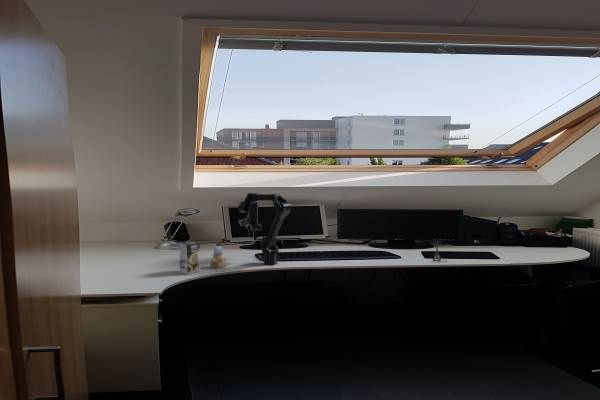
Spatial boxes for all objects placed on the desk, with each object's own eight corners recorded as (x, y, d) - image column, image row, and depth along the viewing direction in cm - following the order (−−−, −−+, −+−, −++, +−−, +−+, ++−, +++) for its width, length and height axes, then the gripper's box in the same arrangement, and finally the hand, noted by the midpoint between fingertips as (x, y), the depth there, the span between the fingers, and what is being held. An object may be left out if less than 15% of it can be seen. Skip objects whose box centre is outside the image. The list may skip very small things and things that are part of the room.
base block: (225, 267, 249) (225, 260, 248) (219, 269, 243) (219, 262, 243) (217, 265, 252) (217, 259, 251) (210, 268, 246) (210, 261, 246)
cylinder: (223, 253, 248) (223, 246, 248) (219, 254, 244) (219, 247, 244) (216, 252, 250) (216, 245, 249) (212, 254, 246) (212, 247, 245)
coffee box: (188, 274, 230) (188, 244, 229) (179, 273, 233) (179, 243, 232) (200, 271, 238) (200, 241, 237) (191, 269, 241) (191, 240, 240)
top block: (223, 259, 250) (223, 252, 249) (221, 261, 245) (221, 254, 244) (215, 259, 250) (215, 252, 250) (213, 261, 245) (212, 254, 245)
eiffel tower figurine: (431, 264, 262) (432, 242, 260) (421, 260, 271) (422, 239, 270) (452, 262, 267) (453, 240, 265) (441, 259, 276) (442, 238, 275)
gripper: (236, 212, 269) (236, 237, 270) (243, 215, 252) (243, 242, 253) (253, 211, 273) (253, 236, 275) (262, 215, 256) (262, 241, 257)
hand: (253, 239), depth 265 cm, fingers open, 9 cm apart
